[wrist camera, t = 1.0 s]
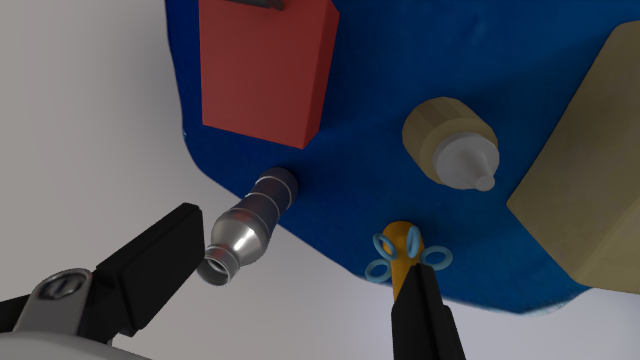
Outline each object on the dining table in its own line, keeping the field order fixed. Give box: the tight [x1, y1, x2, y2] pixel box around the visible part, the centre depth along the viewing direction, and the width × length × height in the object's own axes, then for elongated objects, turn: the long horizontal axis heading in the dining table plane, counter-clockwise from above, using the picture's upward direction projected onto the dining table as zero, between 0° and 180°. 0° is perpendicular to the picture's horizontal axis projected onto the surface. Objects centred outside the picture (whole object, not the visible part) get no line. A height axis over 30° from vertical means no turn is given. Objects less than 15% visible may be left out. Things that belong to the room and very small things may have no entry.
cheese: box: [506, 21, 640, 295], centre depth 23 cm, size 22×10×15 cm, turn 179°
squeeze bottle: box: [402, 97, 499, 191], centre depth 25 cm, size 8×8×18 cm
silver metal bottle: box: [196, 167, 298, 287], centre depth 32 cm, size 6×7×20 cm
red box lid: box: [199, 0, 329, 149], centre depth 24 cm, size 15×13×5 cm
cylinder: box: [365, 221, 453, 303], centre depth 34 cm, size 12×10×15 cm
